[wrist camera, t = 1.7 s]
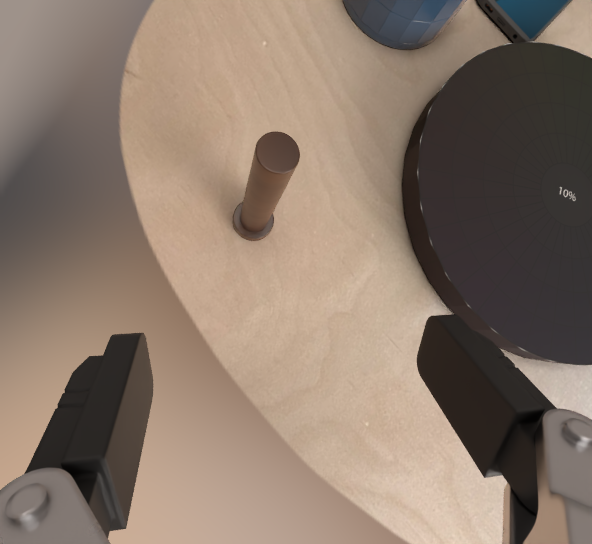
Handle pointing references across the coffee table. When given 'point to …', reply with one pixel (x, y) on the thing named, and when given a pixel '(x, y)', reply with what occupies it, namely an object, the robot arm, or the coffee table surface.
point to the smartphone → (523, 16)
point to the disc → (509, 198)
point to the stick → (265, 184)
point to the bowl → (403, 20)
